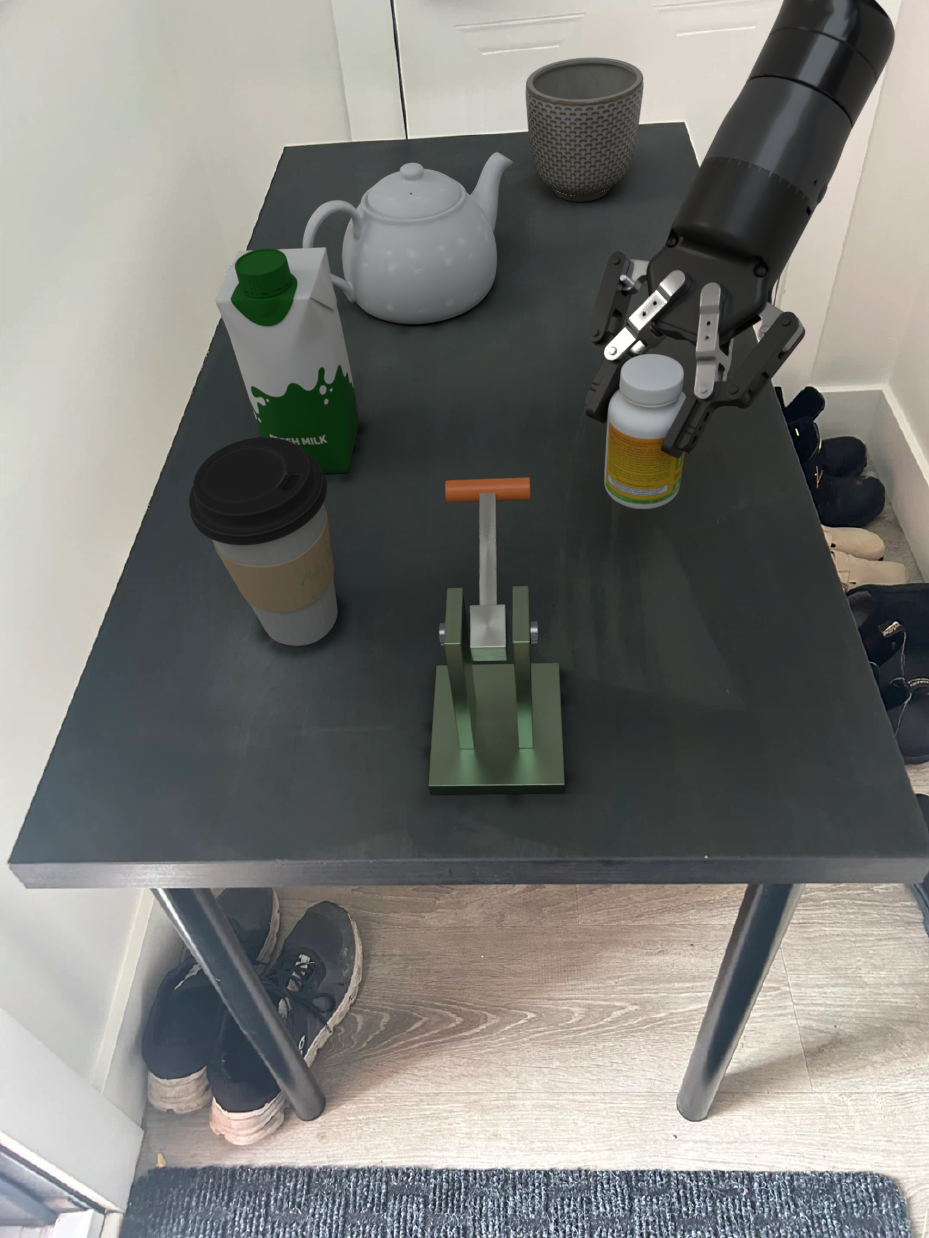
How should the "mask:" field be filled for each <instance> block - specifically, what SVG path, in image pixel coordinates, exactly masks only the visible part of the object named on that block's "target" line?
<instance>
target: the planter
mask: <svg viewBox="0 0 929 1238" xmlns="http://www.w3.org/2000/svg"><path fill="white" fill-rule="evenodd" d="M644 84H645V83H644V74H643V73H642V71H641V69H640V68H638V67H637V66H636V65H633V64H632V63H629V62H628V61H624V60H620V59H615V58H610V57H609V58H608V57H595V56H594V57H575V58H569V59H563V60H558V61H555V62H551V63H549V64H545V65H543V66H541V67H539V68H537V69H536V70H534V71H533V72H531V74H529V76H528V77H527V79H526V81H525V108H526V118H527V119H526V120H527V131H528V132H527V133H528V142H529V149H530V156H531V161H532V164H533V168H534V171H535V173H536V175H537V177H538V178H539V179H540V181H542V183H544V184H545V186H547V187H549V188H551V189H552V190H553V192H554V194H555V195H556V196H557V197H558V198H560V199H562V200H565V201H569V202H577V203H583V202H590V201H591V202H592V201H595V200H597V199H600V198H603V197H604V196H605V195H606V194H607V193H608V192H609V191H610V189H611V187H613V186H615V184H617V183H618V182H620V181H621V179H623V177H624V176H625V175H626V174H627V173H628V171H629V169H630V167H631V164H632V161H633V158H634V153H635V150H636V149H635V148H636V143H637V138H638V132H639V128H640V127H639V126H640V118H641V112H642V111H641V110H642V103H643V98H644V97H643V96H644V87H645V86H644ZM554 189H555V190H554ZM556 190H557V191H559V192H561V193H559V192H557V191H556ZM604 190H605V191H604ZM602 191H603V192H602ZM562 193H564V194H562ZM565 194H567V195H565ZM570 195H572V196H570ZM574 195H575V196H574Z"/></svg>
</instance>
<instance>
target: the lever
mask: <svg viewBox="0 0 929 1238" xmlns="http://www.w3.org/2000/svg"><path fill="white" fill-rule="evenodd" d="M444 483H445V484H444V495H445V501H446V503H447V504H448V503H451V504H453V503H475V502H477V503H478V505H479V506H478V531H479V532H478V544H479V545H478V546H479V547H478V551H479V552H478V555H479V556H478V562H479V563H478V569H479V570H478V571H479V572H478V573H479V575H478V578H479V579H478V584H479V585H478V589H479V590H478V592H479V593H478V594H479V597H478V600H479V601H478V602H479V603H478V604H470V605H469V616H468V617H469V621H468V623H469V625H468V634H469V648H470V652H471V660H472V662H493V661H495V662H497V661H508V660H509V651H508V650H509V647H508V646H509V645H508V643H509V642H508V641H509V640H508V639H509V637H508V636H509V635H508V612H507V605H506V604H503V603H501V604H499V585H498V581H499V580H498V579H499V577H498V575H499V573H498V572H499V571H498V569H499V568H498V567H499V566H498V565H499V564H498V502H505V501H530V500H531V477H526V476H525V477H503V478H502V477H501V478H477V479H475V478H474V479H451V480H448V479H447V480H445V482H444Z"/></svg>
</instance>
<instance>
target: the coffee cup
mask: <svg viewBox="0 0 929 1238" xmlns="http://www.w3.org/2000/svg"><path fill="white" fill-rule="evenodd" d="M327 494H328V481H327V477H326V476H325V473H323V472H322V470H321V468H320V466H319V464H318V463H317V462H316V460H315V459H314V458H313V457H311V456H310V455H309V454H307V453H305V452H304V451H303V450H302V449H301V448H300V447H299V446H297V445H296V444H294V443H292V442H290V441H287V440H284V439H280V438H273V437H262V436H260V437H259V436H258V437H251V438H246V439H241V440H238V441H235V442H232V443H229V444H228V445H225V446H224V447H222V448H220V449H218V450H217V451H215V452H213V453H212V454H211V455H209V456H208V457H207V458H206V459H205V460H204V461H203V462H202V464H201V465H200V466H199V467H198V469H197V471H196V473H195V475H194V478H193V483H192V486H191V489H190V492H189V496H188V507H189V512H190V518H191V520H192V523H193V524H194V526H195V528H196V529H197V530H198V531H199V532H200V533H201V534H202V535H203V536H205V537H207V538H209V539H211V540H212V543H213V546H214V550H215V551H216V553H217V555H218V557H219V558H220V559H221V562H222V563H223V565H224V567H225V568H226V570H227V572H228V574H229V576H230V577H231V578H232V580H233V581H234V584H235V585H236V587H237V589H238V590H239V592H240V594H241V596H242V597H243V598H244V599H245V601H246V602H247V603H248V604H249V606H250V607H251V609H252V611H253V612H254V613H255V616H256V617H257V619H258V620H259V622H260V624H261V626H262V627H263V629H264V630H265V633H266V634H267V635H268V636H269V637H270V638H271V639H272V640H274V641H275V642H276V643H279V644H282V645H285V646H291V647H292V646H293V647H303V646H307V645H311V644H314V643H317V642H318V641H320V640H322V639H323V638H324V637H325V636H326V635H328V634H329V633H330V631H331V630H332V629H333V628H334V626H335V624H336V621H337V618H338V612H339V610H338V602H337V601H338V600H337V596H336V585H335V579H334V575H335V574H334V573H335V564H334V557H333V556H334V555H333V550H332V549H333V548H332V542H331V535H330V527H329V519H328V513H327V509H326V507H325V505H324V503H325V500H326V498H327Z"/></svg>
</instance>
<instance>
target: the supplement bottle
mask: <svg viewBox="0 0 929 1238" xmlns="http://www.w3.org/2000/svg"><path fill="white" fill-rule="evenodd" d="M684 377H685V371H684V368H683V366H682V364H680V362H679V361H677V360H676V359H675V358H672V357H670V356H668V355H664V354H659V353H645V354H644V355H640V356H636V357H634V358H631V359H630V360H628V361H627V362H626V363H625V364H624V365H623V367H622V369H621V376H620V384H619V386H620V389H618V390H617V391H616V392H615V393H614V395H613V396H612V398H611V400H610V402H609V407H608V416H607V422H606V438H605V439H606V441H605V454H604V455H605V456H604V473H603V474H604V475H603V476H604V479H603V481H604V482H603V483H604V488H605V490H606V493H607V494H608V495H609V496H610V498H611V499H612V500H614V501H615V502H616V503H618V504H620V505H621V506H625V507H627V508H629V509H635V510H651V509H655V508H659V507H662V506H664V505H666V504H668V503H670V502H671V501H672V500H674V498H675V497H676V496H677V494H678V492H679V491H680V488H681V482H682V474H683V467H684V460H685V453H686V452H683V454H682V456H681V457H680V458H678V459H677V458H675V457H673V456H670V455H668V454H666V453H665V452H663V451H661V446H662V443H663V441H664V439H665V437H666V435H667V433H668V432H669V430H670V428H671V426H672V424H673V422H674V420H675V418H676V416H677V414H678V412H679V410H680V408H681V406H682V404H683V402H684V400H685V398H686V396H687V395H686V394H685V392H684V391H683V387H684V380H685V378H684Z"/></svg>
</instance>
